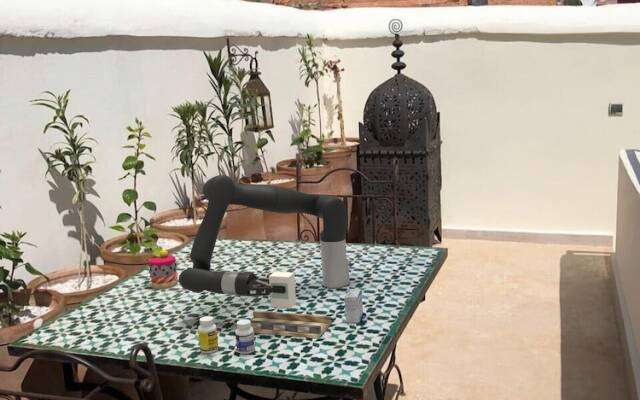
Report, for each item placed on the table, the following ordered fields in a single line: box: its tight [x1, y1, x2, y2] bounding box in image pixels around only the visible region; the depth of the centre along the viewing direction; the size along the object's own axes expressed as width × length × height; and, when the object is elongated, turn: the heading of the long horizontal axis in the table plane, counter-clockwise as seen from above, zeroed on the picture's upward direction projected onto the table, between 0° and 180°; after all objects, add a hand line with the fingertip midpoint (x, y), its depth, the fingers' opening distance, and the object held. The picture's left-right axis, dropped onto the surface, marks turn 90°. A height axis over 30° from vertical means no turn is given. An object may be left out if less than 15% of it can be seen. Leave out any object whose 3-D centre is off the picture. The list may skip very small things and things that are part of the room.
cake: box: [147, 245, 179, 290], centre depth 260 cm, size 10×11×15 cm
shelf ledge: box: [249, 310, 332, 339], centre depth 211 cm, size 26×12×3 cm, turn 70°
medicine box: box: [344, 288, 364, 324], centre depth 214 cm, size 8×4×9 cm, turn 168°
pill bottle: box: [234, 318, 256, 355], centre depth 195 cm, size 5×5×9 cm
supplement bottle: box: [197, 315, 219, 354], centre depth 197 cm, size 5×5×10 cm
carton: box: [269, 271, 297, 310], centre depth 209 cm, size 4×6×10 cm
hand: (288, 287), depth 208 cm, fingers closed on carton, 4 cm apart
